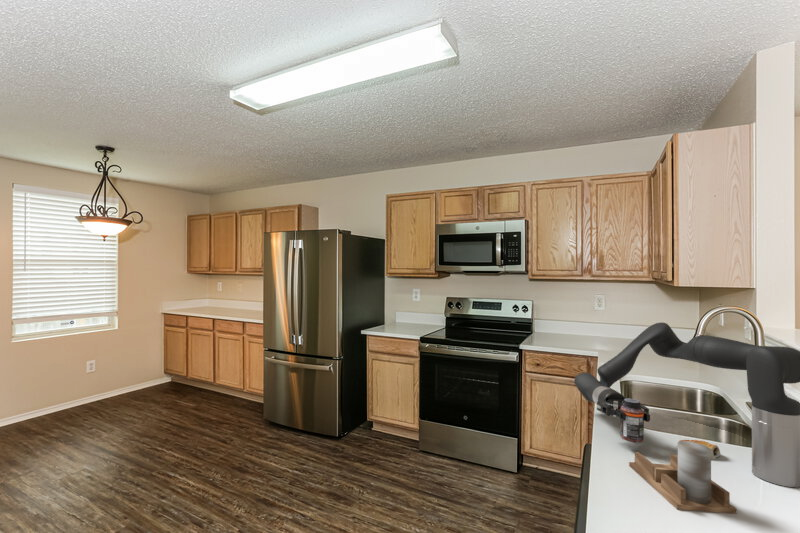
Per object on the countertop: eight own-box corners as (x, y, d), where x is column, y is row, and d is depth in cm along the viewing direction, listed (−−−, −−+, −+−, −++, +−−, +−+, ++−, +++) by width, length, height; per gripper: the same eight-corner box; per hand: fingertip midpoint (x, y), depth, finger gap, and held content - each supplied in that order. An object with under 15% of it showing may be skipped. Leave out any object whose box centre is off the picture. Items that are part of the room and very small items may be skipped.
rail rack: (676, 468, 103) (676, 422, 104) (736, 513, 83) (736, 456, 84) (629, 465, 104) (629, 420, 104) (677, 509, 84) (677, 452, 84)
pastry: (674, 448, 117) (674, 435, 117) (685, 444, 120) (685, 432, 120) (712, 461, 109) (712, 447, 109) (722, 457, 112) (722, 443, 112)
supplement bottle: (622, 433, 119) (622, 395, 119) (645, 439, 115) (645, 400, 115) (618, 439, 114) (618, 400, 114) (642, 445, 110) (642, 404, 111)
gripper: (586, 387, 129) (610, 403, 113) (631, 389, 129) (662, 405, 112) (586, 410, 129) (610, 429, 112) (631, 412, 128) (662, 432, 111)
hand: (636, 417), depth 112 cm, fingers closed on supplement bottle, 6 cm apart
